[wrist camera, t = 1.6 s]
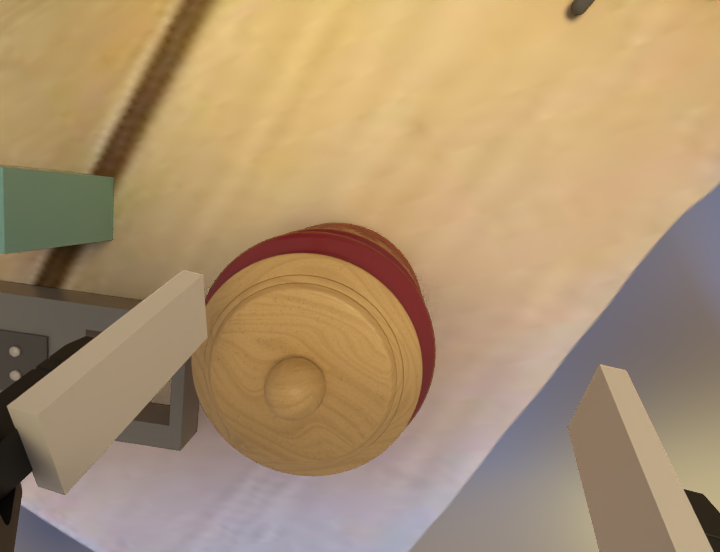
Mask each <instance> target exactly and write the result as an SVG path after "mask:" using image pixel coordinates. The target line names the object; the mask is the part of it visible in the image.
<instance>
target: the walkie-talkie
mask: <svg viewBox="0 0 720 552" xmlns="http://www.w3.org/2000/svg"><path fill="white" fill-rule="evenodd" d="M593 2H594V0H575V1H574V2H573V3H572V6H571V11H572V13H573V14H574V15H581V14H583V13H584V12H585V11H586V10H587V9H588V7H589V6H590V5H591V4H592V3H593Z"/></svg>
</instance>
